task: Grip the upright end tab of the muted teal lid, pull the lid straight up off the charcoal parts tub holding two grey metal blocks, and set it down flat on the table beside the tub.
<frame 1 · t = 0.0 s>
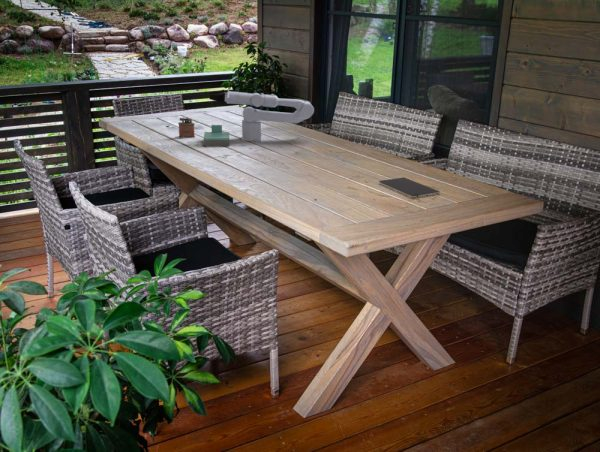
hand: (209, 95, 310), 22 cm above the table, tool horizontal, fingers open, 7 cm apart
notebook: (407, 190, 245), on the table
metal block A: (218, 141, 311), resting on tub
lid: (216, 136, 308), point 3 cm above the table, touching tub
lighter: (187, 138, 320), on the table
tub: (216, 143, 309), on the table
metal block B: (215, 143, 306), resting on tub
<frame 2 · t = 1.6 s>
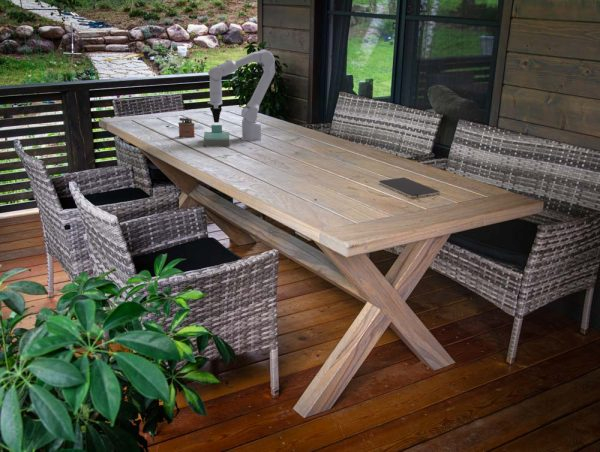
hand: (216, 120, 312), 10 cm above the table, tool pointing down, fingers open, 7 cm apart
nothing on the table moved.
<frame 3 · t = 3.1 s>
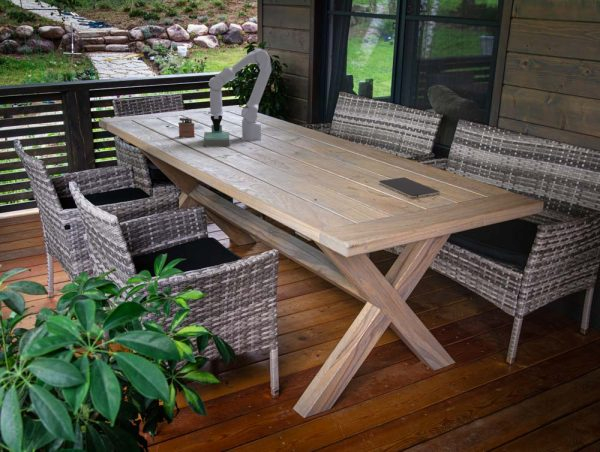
hand: (216, 130, 313), 5 cm above the table, tool pointing down, fingers closed on lid
lid: (216, 136, 308), point 3 cm above the table, touching gripper, tub
everything else where it was.
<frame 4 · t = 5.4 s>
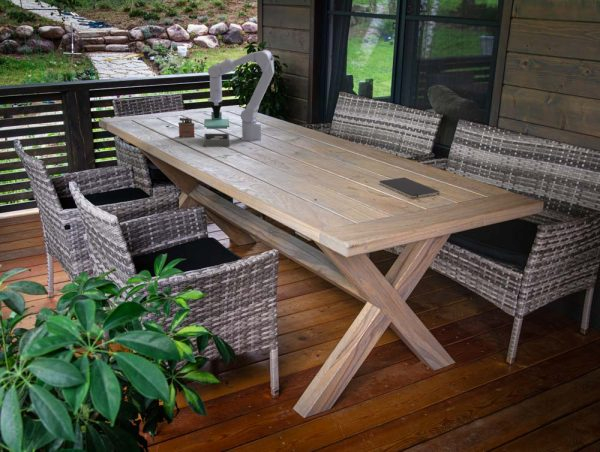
hand: (216, 117, 319), 10 cm above the table, tool pointing down, fingers closed on lid
lid: (216, 123, 313), point 8 cm above the table, touching gripper
everything else where it was.
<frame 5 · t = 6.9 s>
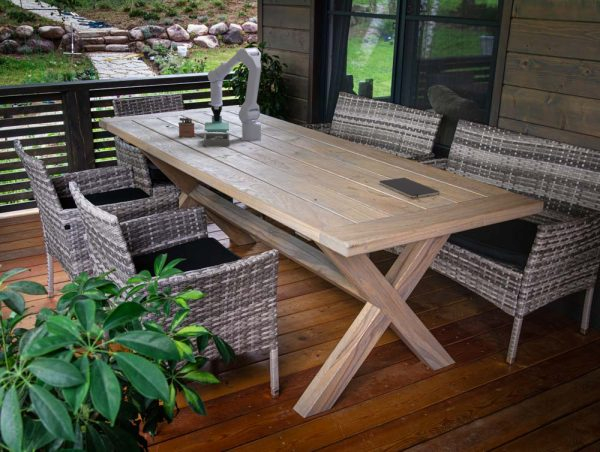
hand: (217, 121, 330), 6 cm above the table, tool pointing down, fingers closed on lid
lid: (216, 127, 324), point 4 cm above the table, touching gripper
everything else where it was.
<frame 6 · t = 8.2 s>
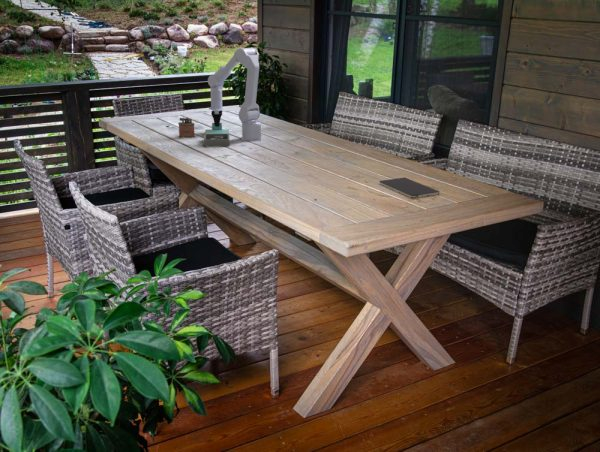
hand: (217, 125, 330), 4 cm above the table, tool pointing down, fingers open, 4 cm apart
lid: (217, 133, 326), point 1 cm above the table
everything else where it was.
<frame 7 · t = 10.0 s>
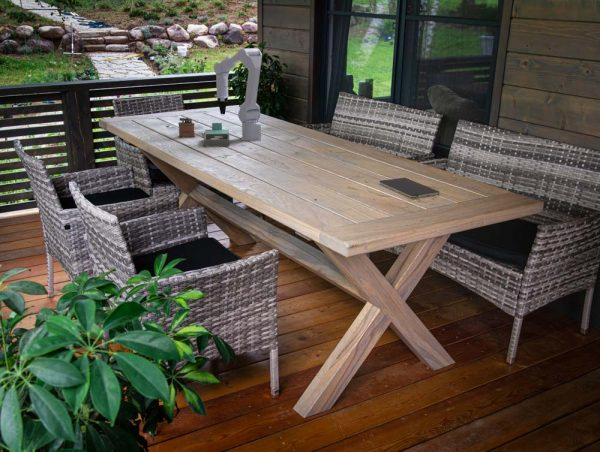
hand: (222, 113, 332), 10 cm above the table, tool pointing down, fingers open, 7 cm apart
nothing on the table moved.
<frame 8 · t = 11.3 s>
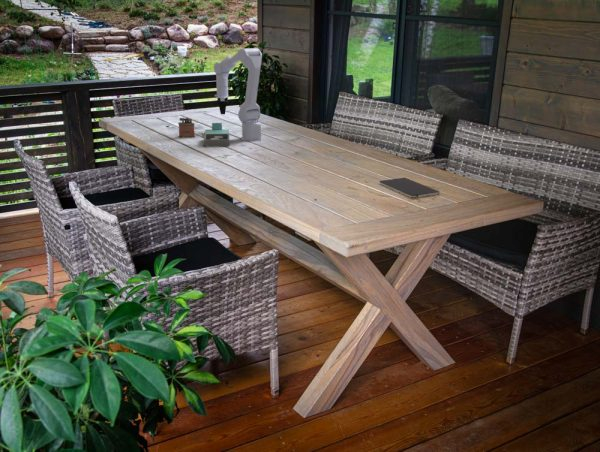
hand: (222, 113, 332), 10 cm above the table, tool pointing down, fingers open, 7 cm apart
nothing on the table moved.
at the end: lid inside the target area (0.5 cm from its centre), point 1.0 cm above the table; lid touching table; lid tilted 0° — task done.
